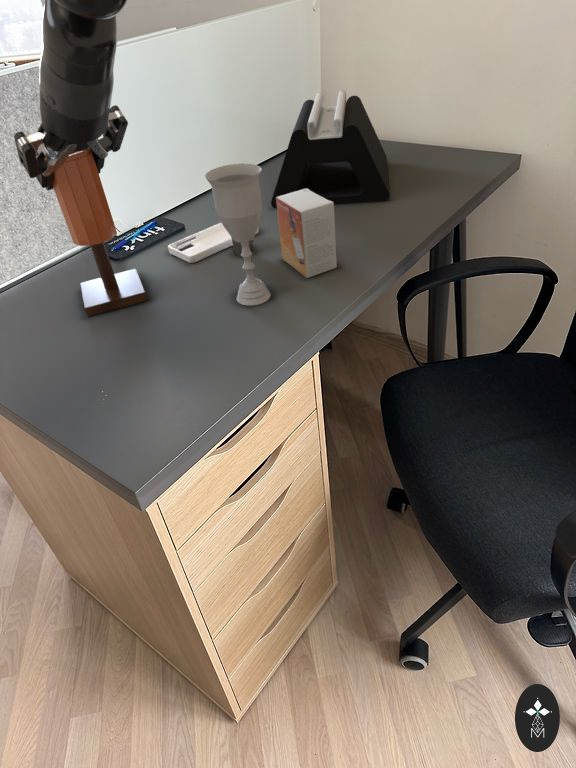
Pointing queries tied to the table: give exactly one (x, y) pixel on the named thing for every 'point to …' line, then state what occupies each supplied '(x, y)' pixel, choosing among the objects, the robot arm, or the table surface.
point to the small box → (307, 232)
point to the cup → (83, 199)
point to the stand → (110, 286)
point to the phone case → (203, 244)
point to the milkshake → (239, 246)
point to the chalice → (240, 218)
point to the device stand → (335, 154)
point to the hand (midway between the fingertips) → (70, 176)
